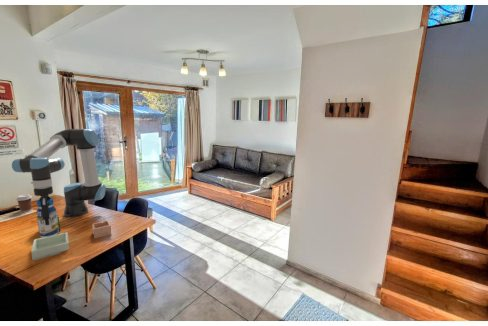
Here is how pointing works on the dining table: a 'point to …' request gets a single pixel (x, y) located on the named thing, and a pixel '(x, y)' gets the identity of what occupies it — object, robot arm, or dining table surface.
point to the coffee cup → (24, 202)
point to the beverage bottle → (52, 217)
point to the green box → (50, 246)
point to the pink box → (101, 229)
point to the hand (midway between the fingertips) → (48, 227)
